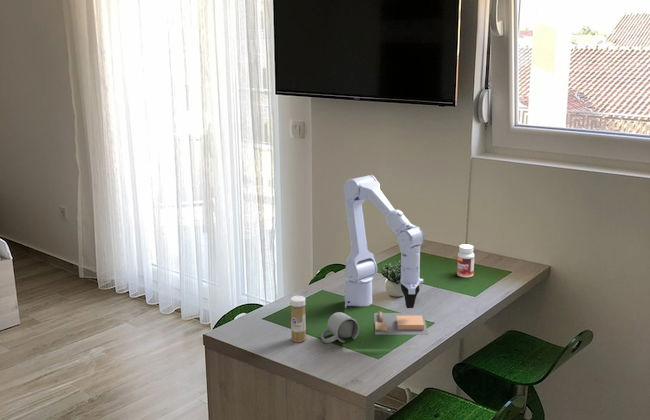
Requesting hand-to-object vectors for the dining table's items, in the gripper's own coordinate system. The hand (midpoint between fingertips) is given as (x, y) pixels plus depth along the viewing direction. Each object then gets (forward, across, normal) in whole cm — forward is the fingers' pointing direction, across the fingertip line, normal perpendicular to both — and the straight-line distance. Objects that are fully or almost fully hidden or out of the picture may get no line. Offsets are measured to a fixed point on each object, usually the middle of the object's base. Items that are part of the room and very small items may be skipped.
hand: (409, 307), depth 216 cm
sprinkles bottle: (+6, -11, +34) cm, 36 cm away
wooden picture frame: (+4, +2, 0) cm, 4 cm away
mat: (+6, -1, +3) cm, 7 cm away
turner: (+6, 0, +9) cm, 11 cm away
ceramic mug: (+6, -10, +22) cm, 25 cm away
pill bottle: (+6, +44, -24) cm, 51 cm away
